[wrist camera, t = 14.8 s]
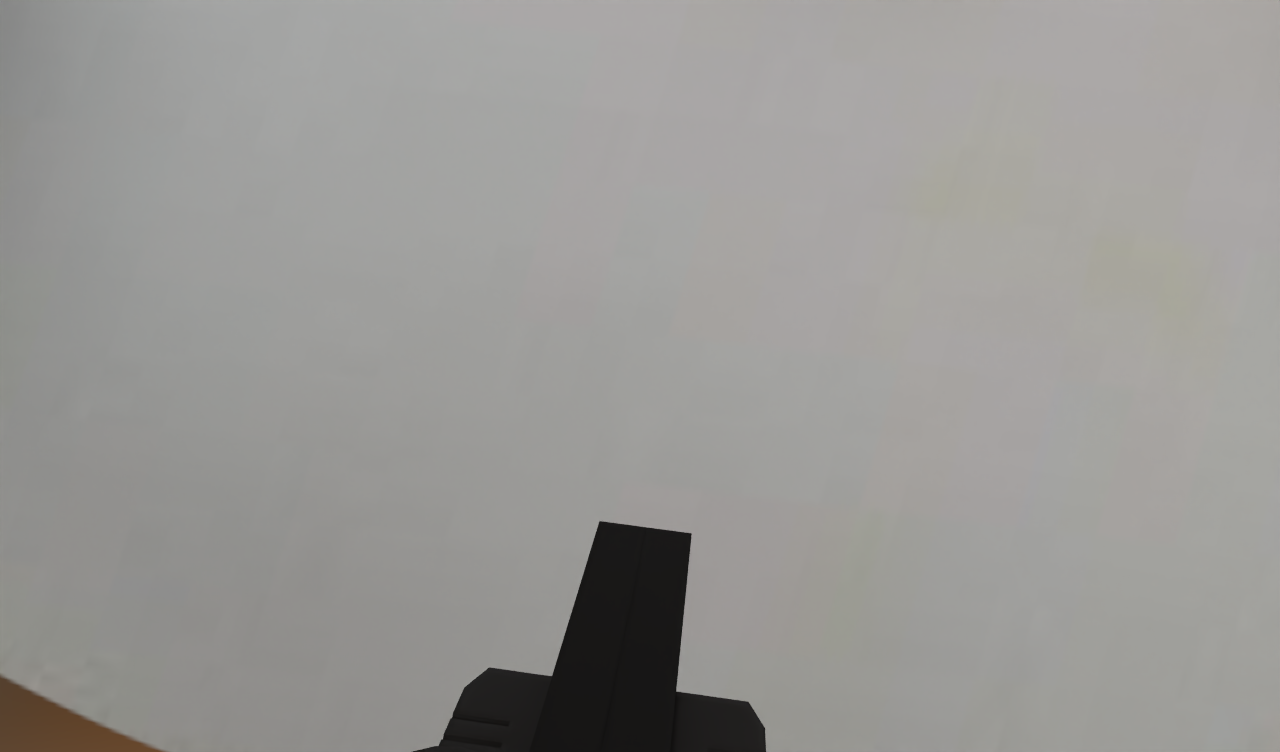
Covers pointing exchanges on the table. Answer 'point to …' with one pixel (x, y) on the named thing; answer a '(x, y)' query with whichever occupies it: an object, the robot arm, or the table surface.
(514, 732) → the robot arm
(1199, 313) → the table surface
